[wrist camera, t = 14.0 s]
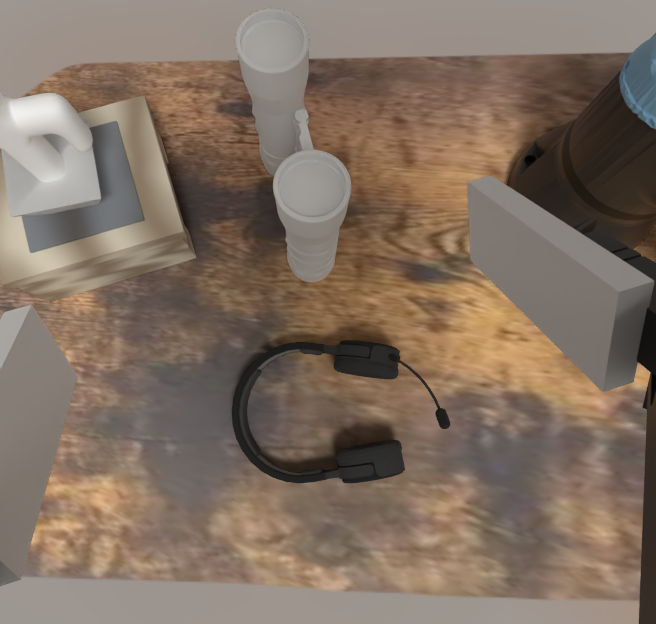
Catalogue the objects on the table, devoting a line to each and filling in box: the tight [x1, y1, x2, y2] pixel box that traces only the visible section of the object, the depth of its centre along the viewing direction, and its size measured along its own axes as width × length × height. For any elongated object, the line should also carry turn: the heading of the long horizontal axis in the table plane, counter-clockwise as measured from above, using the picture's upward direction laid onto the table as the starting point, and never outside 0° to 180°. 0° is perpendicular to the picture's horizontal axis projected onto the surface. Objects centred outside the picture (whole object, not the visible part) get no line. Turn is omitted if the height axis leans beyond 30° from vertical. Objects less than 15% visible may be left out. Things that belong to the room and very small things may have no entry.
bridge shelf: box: [0, 95, 197, 302], centre depth 49 cm, size 16×14×8 cm
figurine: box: [0, 92, 101, 217], centre depth 38 cm, size 7×9×15 cm
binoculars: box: [235, 8, 351, 282], centre depth 45 cm, size 17×5×18 cm, turn 15°
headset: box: [232, 340, 450, 483], centre depth 46 cm, size 13×9×19 cm
